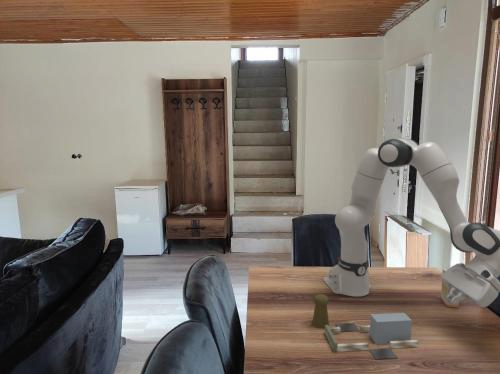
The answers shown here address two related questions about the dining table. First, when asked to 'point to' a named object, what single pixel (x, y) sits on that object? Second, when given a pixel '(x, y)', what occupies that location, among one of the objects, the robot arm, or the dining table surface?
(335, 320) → the dining table surface
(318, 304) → the cork
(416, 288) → the dining table surface
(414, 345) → the lane
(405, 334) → the grey brick
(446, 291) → the supplement box
